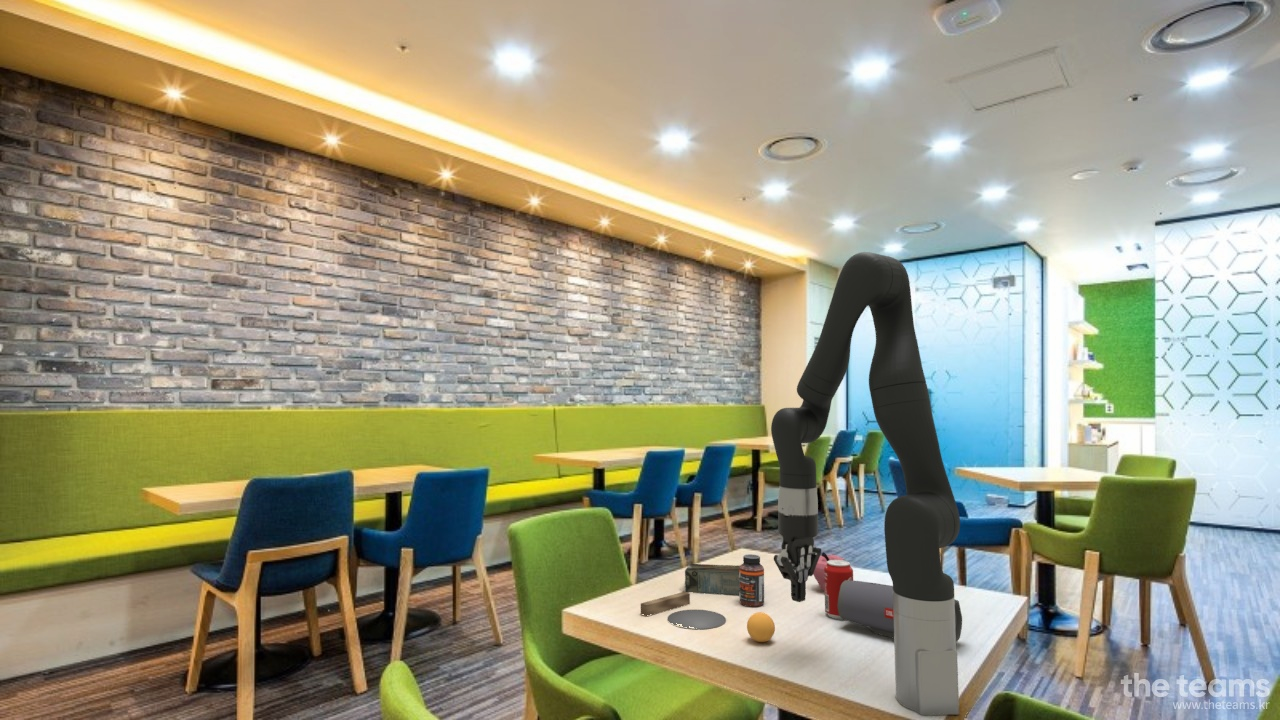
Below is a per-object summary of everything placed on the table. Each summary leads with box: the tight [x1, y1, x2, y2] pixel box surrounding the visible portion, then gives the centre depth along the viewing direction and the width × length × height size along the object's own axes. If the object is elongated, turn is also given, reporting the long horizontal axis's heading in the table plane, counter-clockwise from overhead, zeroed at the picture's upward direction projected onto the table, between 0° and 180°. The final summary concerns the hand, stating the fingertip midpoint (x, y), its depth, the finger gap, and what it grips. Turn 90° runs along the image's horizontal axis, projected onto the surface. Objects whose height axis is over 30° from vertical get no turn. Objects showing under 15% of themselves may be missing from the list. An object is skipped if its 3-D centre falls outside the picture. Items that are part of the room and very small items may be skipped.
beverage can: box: [824, 560, 854, 620], centre depth 149 cm, size 6×6×12 cm
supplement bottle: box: [738, 554, 765, 608], centre depth 159 cm, size 6×6×11 cm
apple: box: [812, 551, 845, 592], centre depth 169 cm, size 10×9×10 cm
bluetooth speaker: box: [837, 580, 963, 643], centre depth 137 cm, size 23×9×10 cm, turn 49°
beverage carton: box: [684, 563, 741, 596], centre depth 170 cm, size 8×19×7 cm, turn 77°
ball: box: [746, 612, 776, 643], centre depth 134 cm, size 6×6×6 cm
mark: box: [667, 609, 727, 630], centre depth 147 cm, size 13×13×1 cm
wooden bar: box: [640, 591, 691, 617], centre depth 155 cm, size 14×2×2 cm, turn 131°
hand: (798, 600), depth 127 cm, fingers closed
